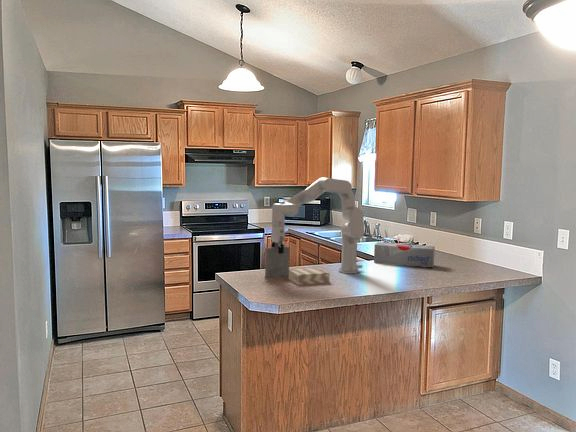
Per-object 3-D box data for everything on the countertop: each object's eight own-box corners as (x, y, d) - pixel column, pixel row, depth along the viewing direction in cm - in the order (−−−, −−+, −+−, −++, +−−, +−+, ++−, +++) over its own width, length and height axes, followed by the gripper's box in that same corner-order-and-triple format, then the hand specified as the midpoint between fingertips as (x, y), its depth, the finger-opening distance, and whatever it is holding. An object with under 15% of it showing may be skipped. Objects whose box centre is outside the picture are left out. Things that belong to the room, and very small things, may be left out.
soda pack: (434, 265, 333) (435, 246, 331) (432, 269, 321) (434, 248, 319) (376, 259, 347) (377, 241, 346) (373, 263, 335) (374, 243, 334)
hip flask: (266, 277, 283) (267, 244, 281) (263, 276, 286) (264, 243, 284) (289, 275, 291) (290, 242, 288) (286, 273, 294) (287, 241, 292)
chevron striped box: (318, 277, 288) (319, 267, 288) (329, 282, 276) (329, 272, 275) (288, 279, 281) (288, 269, 280) (297, 285, 268) (297, 274, 268)
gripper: (290, 225, 279) (289, 254, 281) (277, 222, 294) (276, 249, 296) (278, 226, 276) (278, 254, 278) (266, 222, 291) (265, 249, 293)
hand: (277, 251), depth 287 cm, fingers open, 9 cm apart
